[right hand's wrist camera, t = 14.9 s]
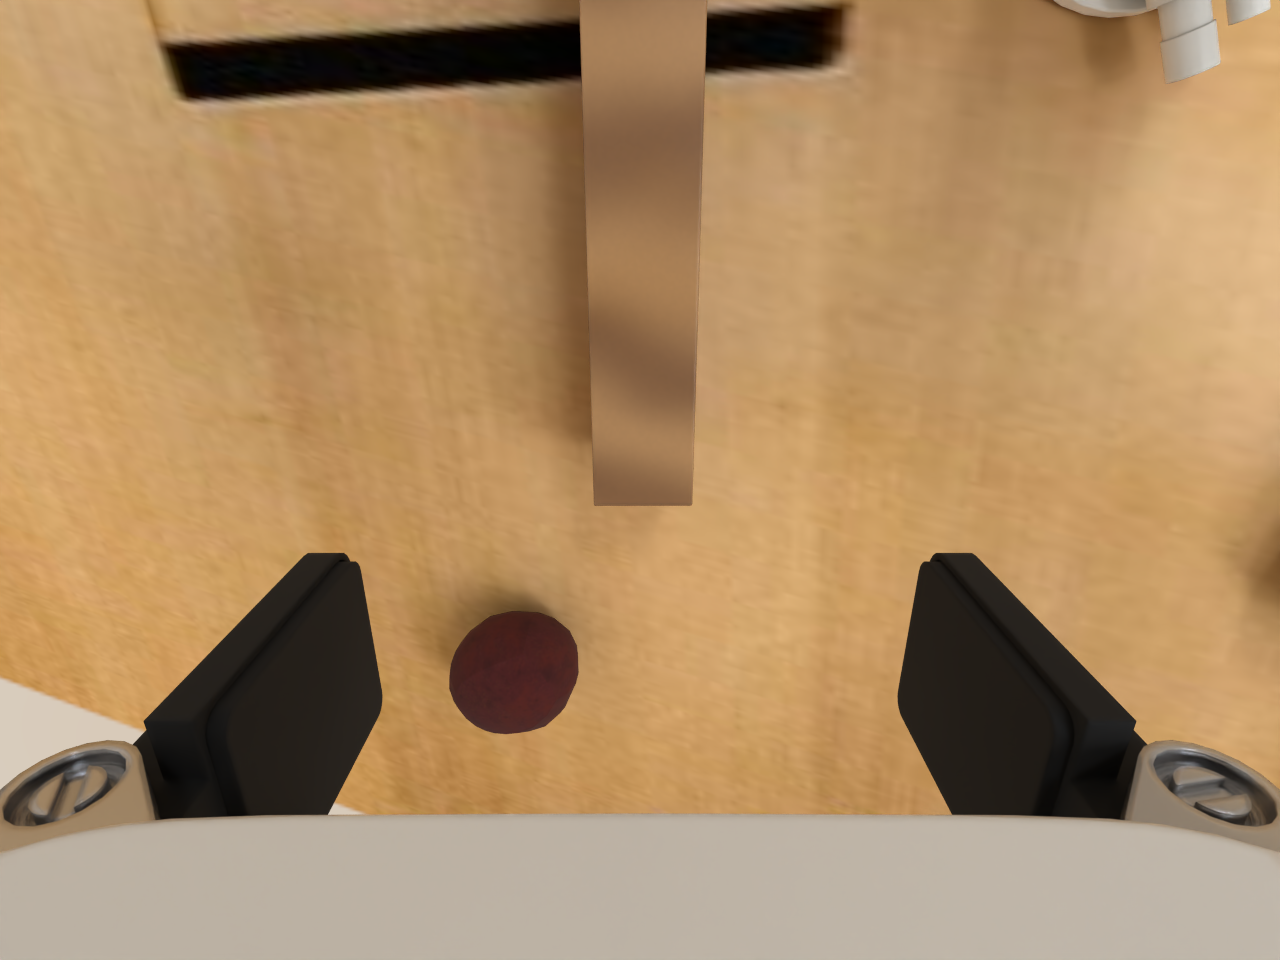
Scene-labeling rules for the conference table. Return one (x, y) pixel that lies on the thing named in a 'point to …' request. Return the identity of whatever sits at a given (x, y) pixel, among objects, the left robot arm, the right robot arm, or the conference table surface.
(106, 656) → the conference table surface
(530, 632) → the potato
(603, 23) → the beam
